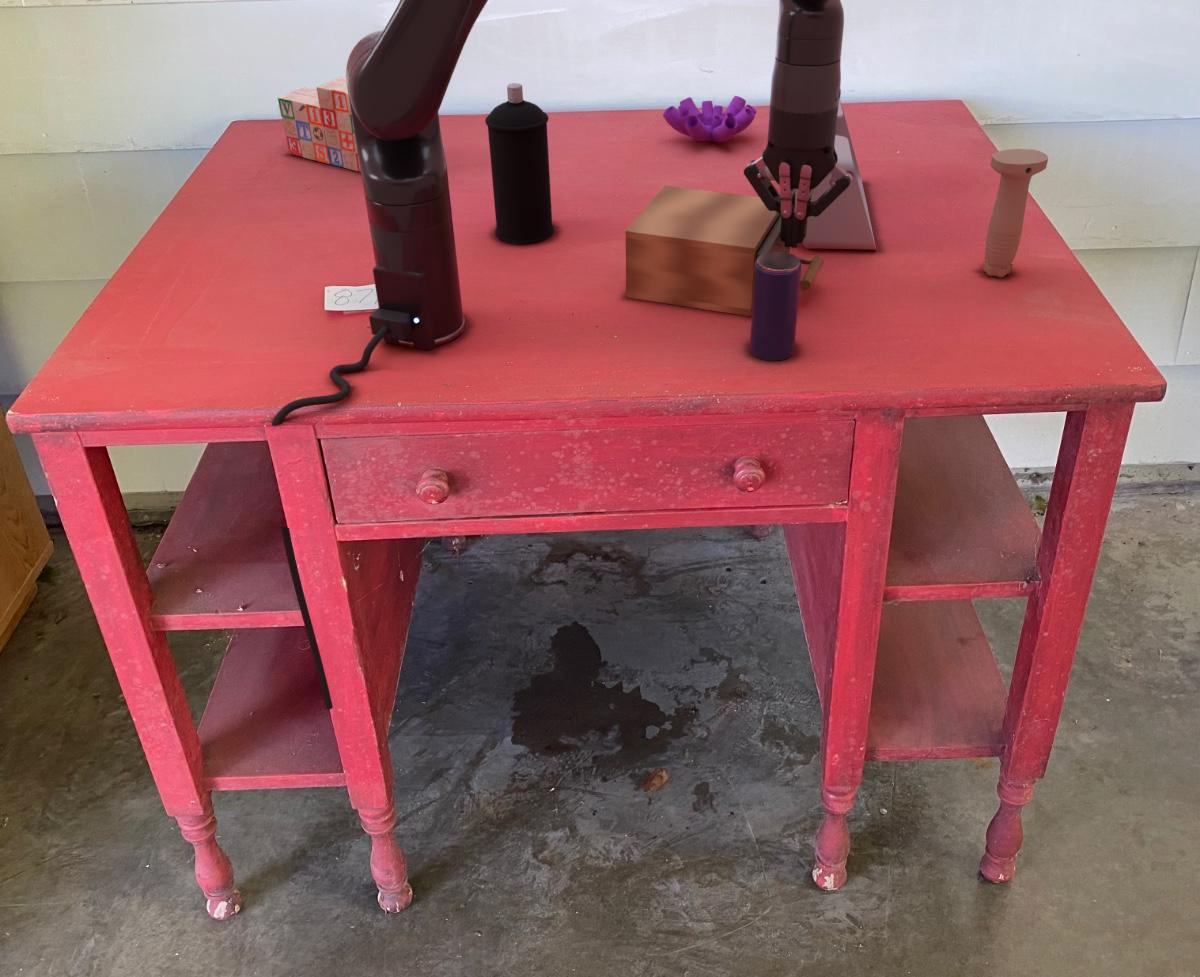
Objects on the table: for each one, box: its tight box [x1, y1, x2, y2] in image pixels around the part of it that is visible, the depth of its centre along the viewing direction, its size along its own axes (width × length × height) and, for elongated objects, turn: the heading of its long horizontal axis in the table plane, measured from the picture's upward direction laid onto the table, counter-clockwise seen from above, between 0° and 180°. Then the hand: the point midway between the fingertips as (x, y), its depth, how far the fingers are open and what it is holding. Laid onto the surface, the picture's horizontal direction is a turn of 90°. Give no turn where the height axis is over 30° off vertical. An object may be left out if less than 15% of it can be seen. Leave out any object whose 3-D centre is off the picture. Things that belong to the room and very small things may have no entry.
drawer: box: [756, 215, 824, 292], centre depth 137 cm, size 20×14×7 cm
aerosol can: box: [484, 82, 555, 246], centre depth 148 cm, size 8×8×20 cm
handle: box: [982, 148, 1049, 278], centre depth 137 cm, size 5×6×15 cm
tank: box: [766, 98, 877, 251], centre depth 153 cm, size 25×16×12 cm, turn 174°
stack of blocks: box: [277, 75, 361, 173], centre depth 175 cm, size 21×6×12 cm, turn 57°
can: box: [749, 252, 803, 362], centre depth 124 cm, size 5×5×11 cm
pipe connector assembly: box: [662, 95, 757, 143], centre depth 179 cm, size 11×15×10 cm
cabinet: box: [624, 185, 780, 317], centre depth 139 cm, size 16×15×9 cm
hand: (792, 244), depth 134 cm, fingers closed
